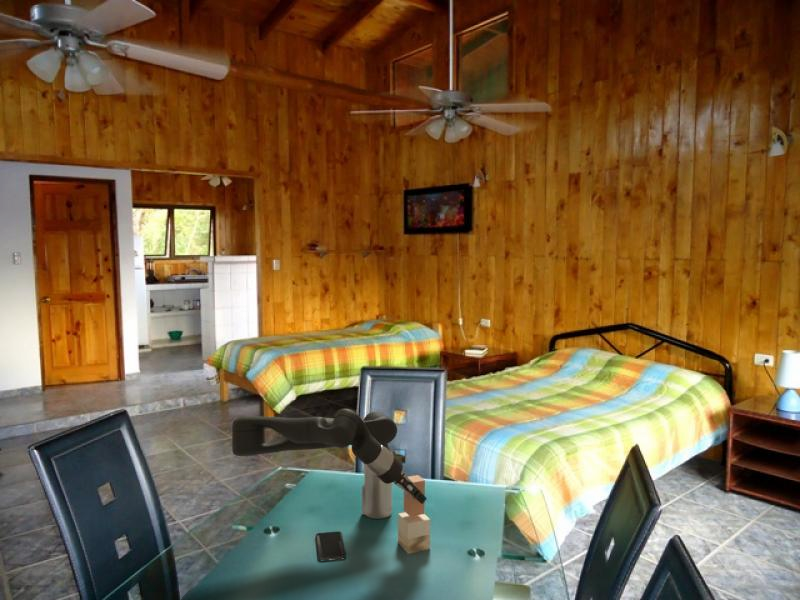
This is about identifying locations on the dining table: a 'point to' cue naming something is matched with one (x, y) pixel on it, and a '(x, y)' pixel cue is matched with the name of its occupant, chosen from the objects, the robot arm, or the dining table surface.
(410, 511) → the stack block
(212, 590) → the dining table surface
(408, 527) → the tower top
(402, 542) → the tower base
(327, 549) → the phone
